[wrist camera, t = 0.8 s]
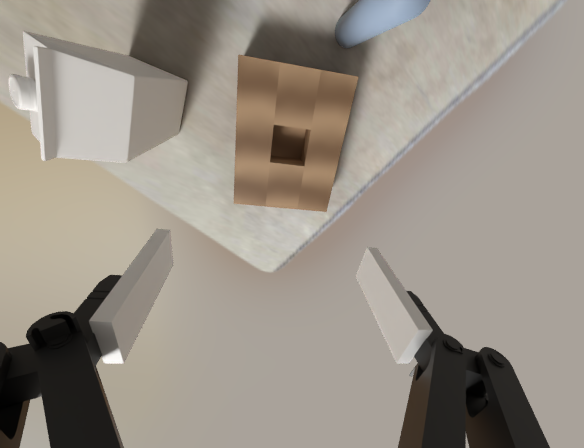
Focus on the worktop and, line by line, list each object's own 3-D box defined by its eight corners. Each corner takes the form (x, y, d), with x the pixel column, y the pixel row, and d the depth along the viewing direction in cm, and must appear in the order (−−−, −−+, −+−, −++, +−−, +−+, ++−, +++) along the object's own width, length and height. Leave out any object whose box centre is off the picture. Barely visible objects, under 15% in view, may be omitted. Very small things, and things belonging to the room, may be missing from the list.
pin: (338, 10, 29) (397, -52, 16) (365, 16, 30) (443, -39, 17) (332, 45, 31) (380, 14, 18) (357, 50, 31) (423, 24, 18)
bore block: (242, 59, 31) (238, 54, 26) (346, 78, 33) (358, 76, 29) (237, 190, 39) (233, 203, 35) (319, 198, 41) (326, 211, 37)
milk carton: (188, 80, 31) (104, 73, 15) (179, 134, 34) (100, 177, 18) (128, 55, 29) (-45, 14, 13) (124, 114, 32) (-21, 142, 16)
